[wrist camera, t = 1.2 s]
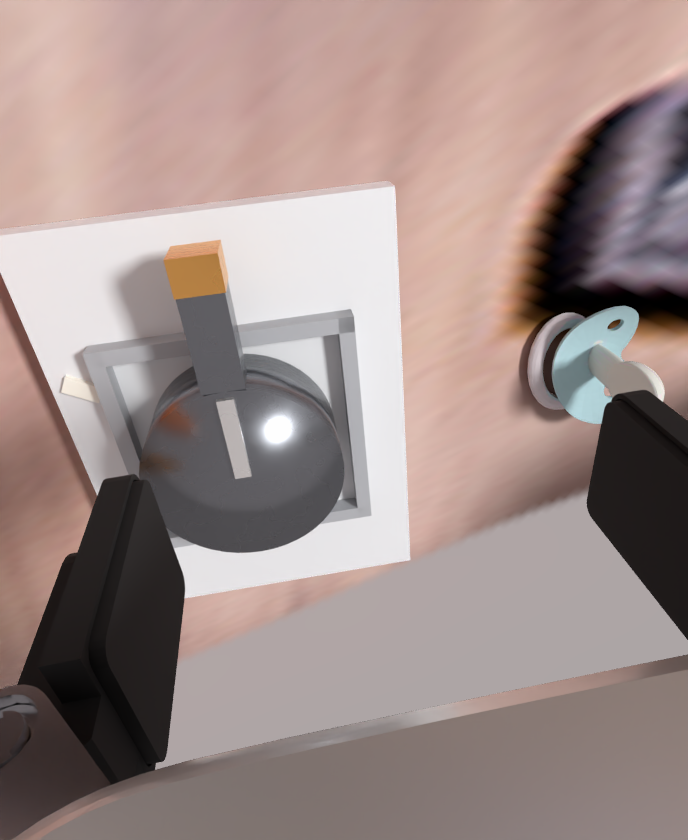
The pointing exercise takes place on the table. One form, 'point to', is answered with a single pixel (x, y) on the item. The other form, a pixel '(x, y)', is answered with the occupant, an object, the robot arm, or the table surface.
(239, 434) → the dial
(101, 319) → the panel
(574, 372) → the pacifier
